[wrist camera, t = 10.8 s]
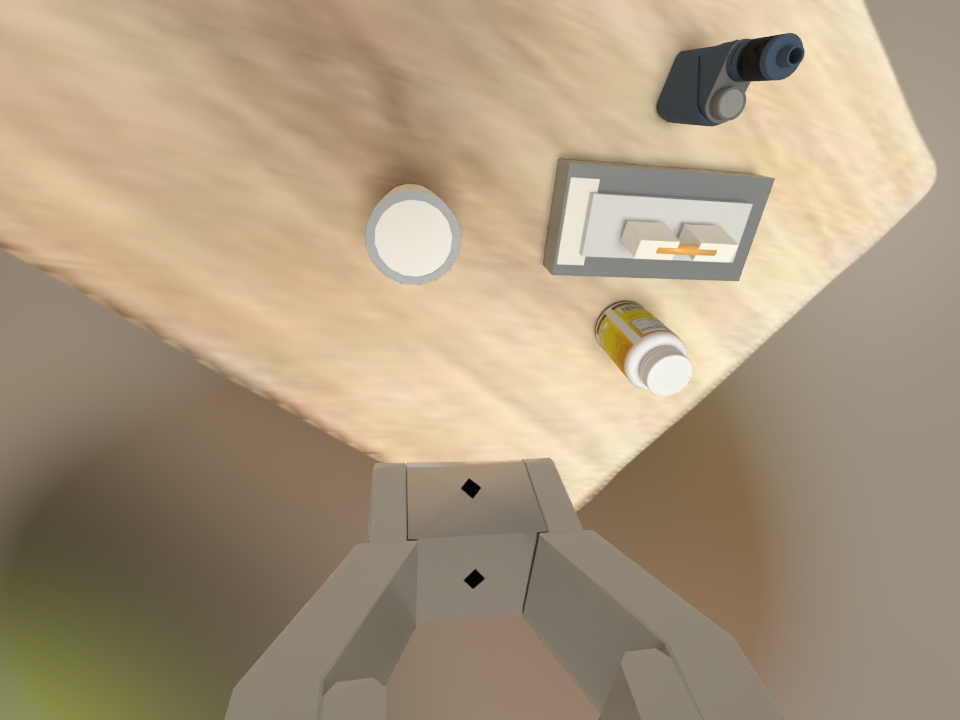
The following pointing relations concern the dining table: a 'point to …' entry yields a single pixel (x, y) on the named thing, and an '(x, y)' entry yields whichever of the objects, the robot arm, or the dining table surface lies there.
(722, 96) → the vaping device
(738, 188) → the panel
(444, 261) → the white cylinder
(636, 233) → the double breaker paddle
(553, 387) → the dining table surface
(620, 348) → the supplement bottle
